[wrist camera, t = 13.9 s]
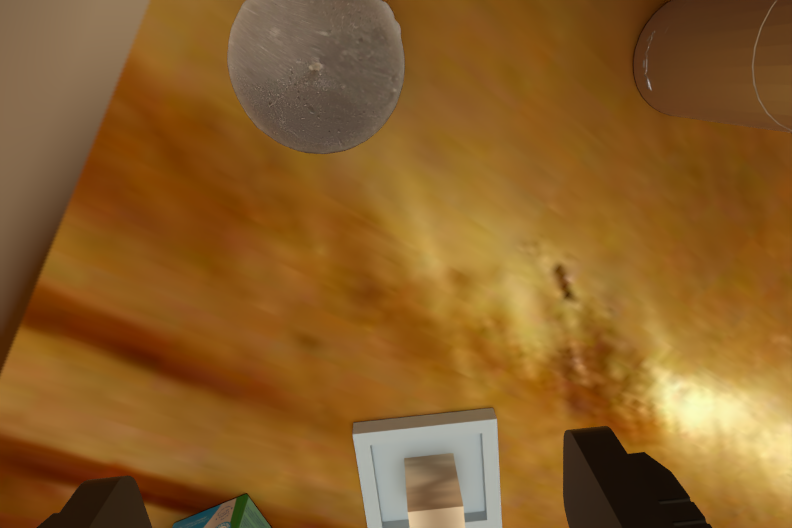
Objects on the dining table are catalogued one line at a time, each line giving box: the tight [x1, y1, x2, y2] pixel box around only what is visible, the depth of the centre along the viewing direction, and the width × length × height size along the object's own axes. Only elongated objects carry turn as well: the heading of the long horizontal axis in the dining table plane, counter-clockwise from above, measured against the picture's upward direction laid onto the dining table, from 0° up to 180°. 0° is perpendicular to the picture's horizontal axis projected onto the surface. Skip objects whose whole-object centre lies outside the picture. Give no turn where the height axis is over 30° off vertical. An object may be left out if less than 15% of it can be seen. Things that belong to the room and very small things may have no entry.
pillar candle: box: [227, 0, 405, 154], centre depth 34 cm, size 10×10×15 cm
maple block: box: [404, 453, 465, 528], centre depth 51 cm, size 5×5×7 cm
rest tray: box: [353, 408, 502, 528], centre depth 54 cm, size 14×14×2 cm
